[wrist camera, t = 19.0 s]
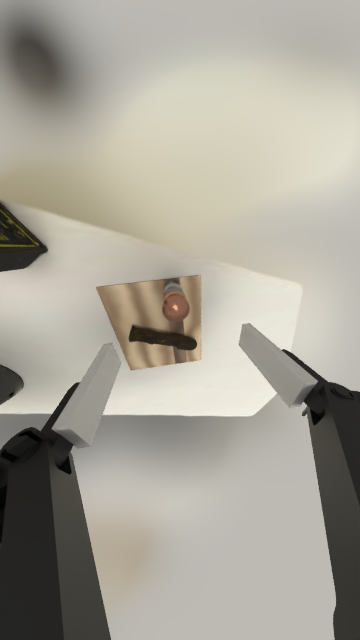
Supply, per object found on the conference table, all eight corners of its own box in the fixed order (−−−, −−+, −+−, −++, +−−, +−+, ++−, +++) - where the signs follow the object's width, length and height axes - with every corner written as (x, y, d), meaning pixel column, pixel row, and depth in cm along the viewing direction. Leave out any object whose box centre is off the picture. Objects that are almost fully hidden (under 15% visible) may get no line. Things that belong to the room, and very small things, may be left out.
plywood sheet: (131, 369, 43) (130, 370, 42) (96, 287, 29) (95, 287, 29) (201, 359, 44) (201, 359, 44) (200, 275, 30) (200, 275, 30)
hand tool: (130, 334, 36) (126, 346, 32) (132, 323, 34) (128, 333, 30) (192, 346, 40) (195, 357, 36) (197, 336, 38) (200, 346, 34)
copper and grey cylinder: (164, 299, 32) (164, 323, 21) (161, 281, 29) (160, 298, 19) (181, 296, 32) (190, 320, 21) (180, 278, 30) (189, 295, 19)
